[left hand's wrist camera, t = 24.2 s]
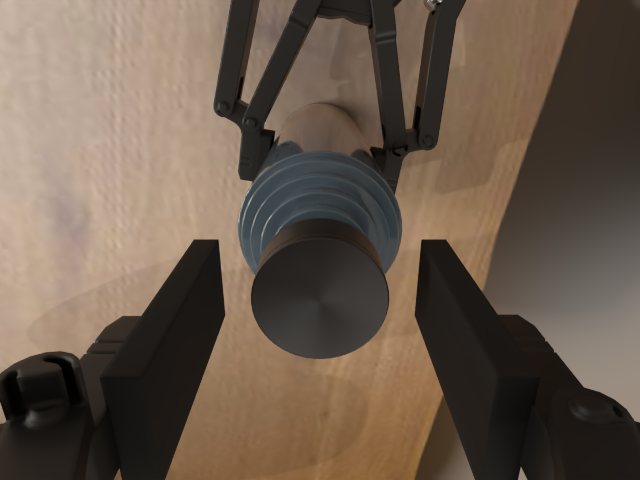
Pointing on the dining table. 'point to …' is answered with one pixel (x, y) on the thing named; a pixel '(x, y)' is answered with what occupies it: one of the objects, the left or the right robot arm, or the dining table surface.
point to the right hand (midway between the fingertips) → (308, 233)
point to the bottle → (320, 185)
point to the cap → (320, 289)
